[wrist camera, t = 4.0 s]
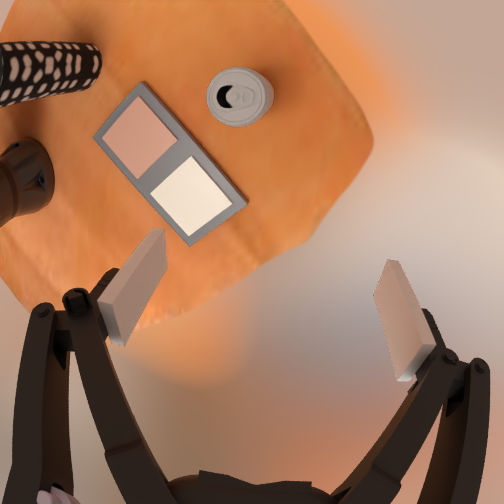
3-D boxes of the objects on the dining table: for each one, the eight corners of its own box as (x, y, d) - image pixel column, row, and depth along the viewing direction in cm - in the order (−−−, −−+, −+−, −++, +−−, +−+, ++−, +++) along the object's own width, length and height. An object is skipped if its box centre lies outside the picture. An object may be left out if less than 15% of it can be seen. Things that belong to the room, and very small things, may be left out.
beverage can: (226, 73, 34) (201, 67, 24) (275, 73, 33) (269, 65, 23) (226, 117, 37) (202, 128, 27) (274, 118, 37) (268, 129, 26)
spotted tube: (85, 34, 31) (-11, 31, 14) (110, 62, 34) (12, 66, 17) (56, 72, 34) (-37, 88, 17) (80, 101, 37) (-16, 126, 20)
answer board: (96, 136, 40) (91, 138, 39) (144, 81, 35) (139, 81, 34) (191, 243, 48) (188, 248, 47) (248, 201, 43) (247, 205, 42)
